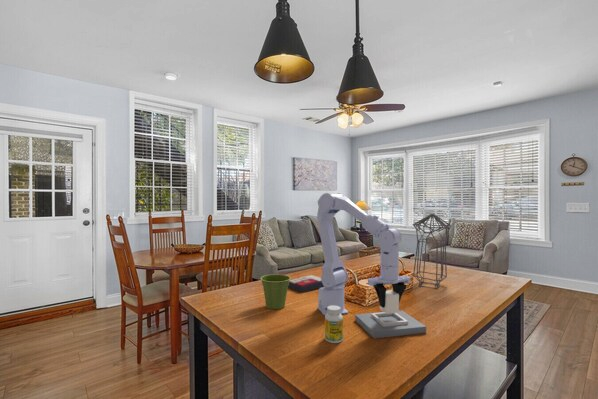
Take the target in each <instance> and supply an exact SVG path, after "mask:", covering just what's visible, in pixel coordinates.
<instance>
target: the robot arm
mask: <svg viewBox="0 0 598 399" xmlns="http://www.w3.org/2000/svg"><path fill="white" fill-rule="evenodd" d="M317 205H318V209H317V213H316V214H317V216H316V219H317V225H318V231H319V236H320V242H321V247H322V253H323V259H324V263H323V265H322V267H321V277H320V278H321V281H322V284H323V285H324V287H323V288H318V293H317V294H318V295H317V297H318V298H317V299H318V301H317V305H318V306H317V309H318V310H319V311H320V312H321V313H322V315H323V316H325V315H326V314H327V313H328V312H327V307H328V306H332V305H334V306H339V307H340V308H341V312H340V314H341V315H343V314H349V311H348V310H347V309H346V308H345V286H346V282H347V281H348V279H349V275H348V271H347V269H346V268H345V264H344V263H343V262H342V260H340V256H339V251H338V245H337V240H336V235H335V230H334V223H333V218H334V217H335V215H336V214H337V213H339V212H340V211H345V212H346V213H347V214H349V215H350V216H352V217H353V218H355V219H356V220H357V221H359V222H361V226H362V228H363V229H365V231H366V232H368V233H369V234H371V235H372V236H373V237H374V238H376V239H377V242H378V244H379V245H380V276H377V277H371V278H367V285H368V286H370V287H373V289H374V290H375V293H376V295H377V298H378V304H379V307H380V306H381V307H385V295H386V291H388V290H387V289H388V288H387V287H385V285H392V286H391V287H392V291H394V292H396V293H398V294H399V304H400V302H401V299H402V296H403V294H404V292H405V291H406V290H407V285H406V284H411V283H412V282H411V281H412V280H411V277H410V276H407V275H402V276H401V275H399V271H400V270H399V269H400V268H399V265H400V264H399V256H400V255H399V248H400V246H399V243H400V242H401V240H402V234H401V232H400V230H398V228H397V227H393V226H392V227H391V225H390V224H389V223H386V222H384V221H383V220H381V218H380V216H379V215H378V214H374V213H371V214H367V213H366V212H365V211H364V210H363V209H362V208H360V207H359V206H358V205H357V204H355V203H354V202H353V201H352V200H350V199H349V197H348V196H345V195H344V194H343V193H339V192H338V193H328V192H325V193H323V194H322V195H320V197H319V198H318V200H317Z"/></svg>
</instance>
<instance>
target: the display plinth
mask: <svg viewBox="0 0 598 399" xmlns="http://www.w3.org/2000/svg"><path fill="white" fill-rule="evenodd" d="M354 321H355V322H356V323H357V324H358V325H360V327H361V328H362V329H364V331H366V332H367V333H368V334H369V335H370V336H371V337H372V338H373V339H380V338H381V339H383V338H390V337H391V338H392V337H400V336H409V335H420V334H427V325H425V324H423V323H422V322H421V321H418V320H417V319H415V318H414V317H413V316H411V315H409V314H408V313H407V312H405V311H403V310H399V313H390V314H386V313H385V312H383V311H382V312H367V313H358V314H354Z"/></svg>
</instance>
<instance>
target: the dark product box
mask: <svg viewBox="0 0 598 399" xmlns="http://www.w3.org/2000/svg"><path fill="white" fill-rule="evenodd" d="M323 287H324V285H323V284H322V281H321V277H320V276H316V275H312V274H310V275H304V276H301V277H298V278H294V279H290V280H289V285H288V288H289V289H291V290H293V291H296V292H299V293H301V294H302V293H306V292H307V293H308V292H311V291H315V290H317V289H318V290H319V288H323Z"/></svg>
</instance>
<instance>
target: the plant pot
mask: <svg viewBox="0 0 598 399" xmlns="http://www.w3.org/2000/svg"><path fill="white" fill-rule="evenodd" d="M259 278H260V279H259V280H260V281H261V285H262V287H263V294H264V300H265V308H267V309H270V310H275V311H277V310H281V309H283V308H284V307H285V306H286V302H287V301H286V300H287V294H288V285H289V280H292V277H291V276H290V275H286V274H277V273H276V274H275V273H273V274H265V275H262V276H261V277H259Z"/></svg>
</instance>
